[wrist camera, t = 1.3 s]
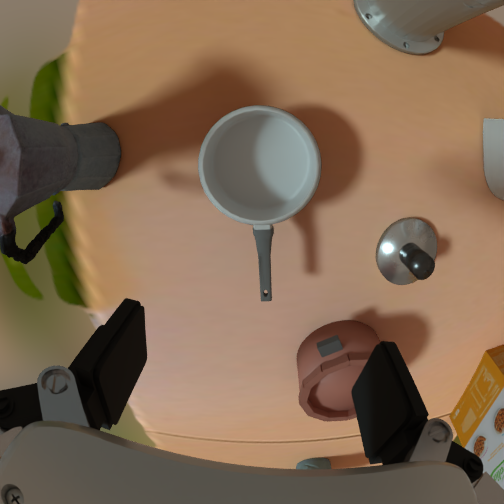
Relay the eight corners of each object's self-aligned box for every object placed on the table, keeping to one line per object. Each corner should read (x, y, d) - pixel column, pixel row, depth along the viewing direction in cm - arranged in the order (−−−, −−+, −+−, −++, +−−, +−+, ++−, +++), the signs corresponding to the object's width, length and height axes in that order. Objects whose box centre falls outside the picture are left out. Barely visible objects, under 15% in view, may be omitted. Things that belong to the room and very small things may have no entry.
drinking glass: (331, 468, 56) (335, 504, 45) (293, 473, 58) (294, 509, 47) (332, 453, 53) (337, 494, 42) (290, 459, 54) (291, 500, 43)
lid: (424, 206, 31) (447, 218, 26) (437, 263, 34) (457, 281, 29) (366, 234, 33) (382, 251, 28) (384, 291, 36) (399, 313, 31)
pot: (364, 296, 36) (383, 333, 28) (386, 369, 41) (401, 405, 34) (277, 333, 39) (278, 374, 31) (316, 396, 44) (321, 434, 36)
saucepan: (221, 279, 36) (213, 302, 31) (206, 115, 29) (193, 111, 24) (312, 276, 35) (318, 299, 30) (310, 110, 28) (319, 104, 23)
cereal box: (466, 409, 48) (504, 495, 20) (449, 416, 48) (484, 507, 20) (503, 344, 39) (567, 439, 12) (485, 350, 40) (550, 455, 12)
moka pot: (113, 89, 27) (-13, 70, 9) (142, 203, 33) (30, 275, 14) (59, 119, 29) (-59, 131, 10) (86, 221, 34) (-20, 290, 16)
